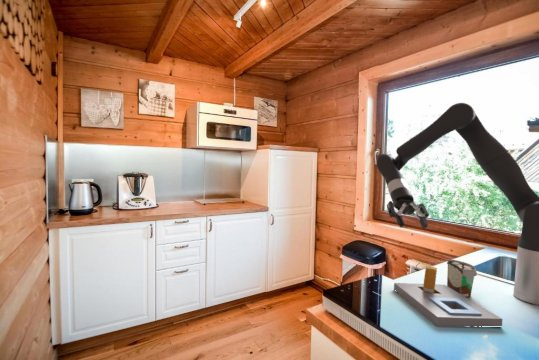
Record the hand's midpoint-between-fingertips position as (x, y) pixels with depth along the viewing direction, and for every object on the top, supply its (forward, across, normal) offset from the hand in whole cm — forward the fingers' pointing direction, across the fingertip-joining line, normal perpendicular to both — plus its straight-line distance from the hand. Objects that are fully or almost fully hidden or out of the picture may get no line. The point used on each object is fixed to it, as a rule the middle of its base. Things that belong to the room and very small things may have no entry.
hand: (414, 226), depth 99 cm
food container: (+20, +15, +10) cm, 27 cm away
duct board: (+27, 0, +3) cm, 27 cm away
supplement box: (+23, 0, +7) cm, 24 cm away
